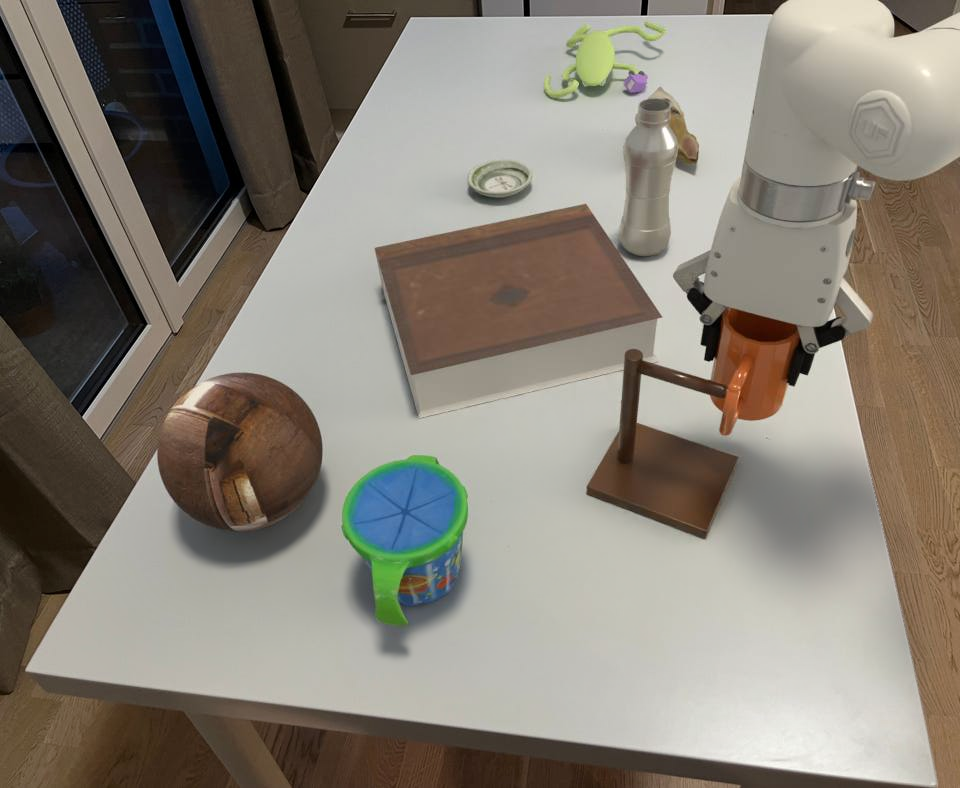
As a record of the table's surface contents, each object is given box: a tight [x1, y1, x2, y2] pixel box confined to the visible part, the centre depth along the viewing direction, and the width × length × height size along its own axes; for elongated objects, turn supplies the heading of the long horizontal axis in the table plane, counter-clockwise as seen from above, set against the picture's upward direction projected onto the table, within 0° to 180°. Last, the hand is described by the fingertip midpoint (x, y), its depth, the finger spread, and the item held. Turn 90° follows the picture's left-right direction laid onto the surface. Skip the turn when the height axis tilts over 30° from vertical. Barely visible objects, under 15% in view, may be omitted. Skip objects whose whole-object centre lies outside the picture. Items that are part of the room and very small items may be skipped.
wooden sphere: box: [156, 372, 324, 532], centre depth 76 cm, size 15×15×15 cm
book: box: [374, 203, 663, 419], centre depth 95 cm, size 24×28×6 cm
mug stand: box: [586, 349, 740, 539], centre depth 73 cm, size 12×10×15 cm
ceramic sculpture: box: [634, 86, 700, 165], centre depth 121 cm, size 11×9×15 cm
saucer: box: [467, 158, 533, 199], centre depth 119 cm, size 10×10×2 cm
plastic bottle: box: [618, 98, 679, 257], centre depth 99 cm, size 6×7×20 cm
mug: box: [709, 307, 801, 437], centre depth 68 cm, size 11×6×9 cm, turn 150°
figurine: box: [543, 20, 667, 99], centre depth 144 cm, size 18×27×6 cm
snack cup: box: [341, 454, 469, 627], centre depth 70 cm, size 16×10×10 cm
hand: (753, 362), depth 70 cm, fingers closed on mug, 6 cm apart
